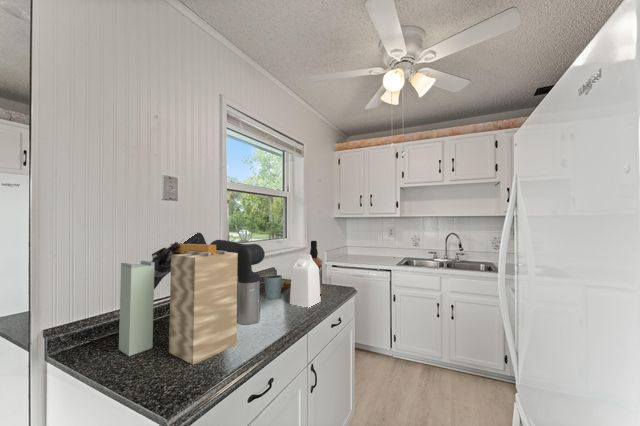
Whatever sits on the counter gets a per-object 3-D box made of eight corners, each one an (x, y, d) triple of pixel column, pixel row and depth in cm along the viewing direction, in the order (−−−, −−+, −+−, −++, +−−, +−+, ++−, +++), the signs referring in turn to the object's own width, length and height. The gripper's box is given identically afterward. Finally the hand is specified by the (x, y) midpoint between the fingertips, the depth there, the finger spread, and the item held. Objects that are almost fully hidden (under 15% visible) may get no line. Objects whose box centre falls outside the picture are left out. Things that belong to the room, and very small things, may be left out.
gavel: (286, 289, 161) (270, 288, 164) (286, 297, 161) (270, 296, 164) (297, 280, 181) (283, 279, 184) (297, 286, 182) (283, 286, 184)
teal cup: (280, 299, 150) (280, 278, 150) (262, 299, 150) (262, 278, 151) (283, 295, 160) (283, 274, 161) (266, 294, 160) (266, 274, 161)
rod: (170, 251, 102) (170, 243, 102) (178, 251, 104) (178, 243, 104) (208, 254, 88) (208, 245, 88) (216, 253, 91) (216, 244, 91)
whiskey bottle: (320, 296, 157) (320, 241, 158) (303, 295, 159) (303, 241, 160) (323, 292, 167) (323, 240, 168) (307, 291, 169) (308, 240, 170)
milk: (320, 302, 145) (320, 254, 146) (308, 308, 135) (308, 256, 136) (302, 299, 151) (302, 252, 152) (289, 304, 142) (289, 254, 143)
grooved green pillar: (118, 349, 91) (121, 262, 92) (141, 342, 97) (143, 260, 98) (128, 356, 86) (131, 265, 87) (152, 347, 92) (154, 262, 93)
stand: (168, 352, 89) (171, 251, 90) (212, 335, 102) (213, 248, 103) (193, 364, 81) (195, 254, 82) (236, 345, 94) (237, 250, 96)
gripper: (181, 270, 113) (202, 251, 105) (144, 275, 101) (165, 255, 93) (176, 254, 115) (197, 234, 107) (140, 257, 103) (159, 236, 95)
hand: (182, 244), depth 100 cm, fingers closed on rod, 3 cm apart
